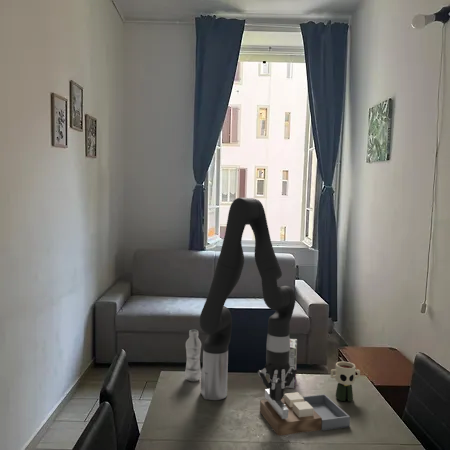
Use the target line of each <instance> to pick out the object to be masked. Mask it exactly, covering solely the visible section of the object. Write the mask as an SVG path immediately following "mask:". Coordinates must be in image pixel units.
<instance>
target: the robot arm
mask: <svg viewBox="0 0 450 450" xmlns="http://www.w3.org/2000/svg"><path fill="white" fill-rule="evenodd" d="M266 215H267V214H266V211H265V208H264V206H263V203H262V202H261V201H260V200H259V199H257V198H252V197H237V198H235V199H234V200H233V201H232V202H231V204H230V206H229V210H228V215H227V220H226V221H227V222H226V227H225V232H224V237H223V241H222V246H221V250H220V253H219V256H218V258H217V263H216V266H215V269H214V273H213V277H212V281H211V285H210V288H209V292H208V294H207V297H206V300H205V302H204V305H203V307H202V310H201V312H200V316H199V325H200V326H199V328H200V329H201V331H202V332H203V333H204V334H206V335H208V336H207V337H206V339H205V340H204V342H203V345H202V346H203V347H202V367H200V369H201V377H200V394H201V395H202V398H203V400H210V401H220V400H224V399H225V398H227V396H228V371H229V370H228V366H229V365H228V364H229V345H230V344H231V340H232V339H231V338H232V337H231V336H232V329H233V328H232V327H233V319H232V313H231V311H230V310H229V308H228V307H227V306H225V303H226V301H227V299H228V297H229V296H230V295H231V293H232V292H233V290H235V289H234V288H236V286H237V285H238V283H239V280H240V279H241V275H242V273H243V269H244V264H245V255H244V250H243V245H242V239H243V235H244V230H245V228H246V225H247V226H248V225H249V226H250V228H251V230H252V233H253V236H254V261H255V263H256V268H257V270H258V273H259V275H260V278H261V289H262V298H263V301H264V304H265V305H266V306H267V308H269V309H270V310H272V311H275V312H274V313H273V314H272V315H270V316H269V318H268V322H267V323H268V324H267V336H266V351H265V353H266V354H265V362H266V363H265V365H264V368H262V369H261V370H260V369H259V370H257V374H258V376H259V378H260V379H261V382H262V384H263V385H264V386H265V387H266V389H269V396H270V398H271V399H272V400H275V383H276V380H277V379H278V380H279V381H280V382H281V383H282V385H281V399H282V398H284V394H285V388H284V387H286V386H289V385H290V383H291V382H292V380H293V378H294V376H295V374H296V375H297V368H296V369H294V368H293V367H290V365H289V354H290V339H291V338H290V333H291V332H290V329H291V328H290V326H291V321H292V317H293V312H294V309H295V307H296V294H295V291H294V289H293V288H292V287H291V286H289V285H282V286H280V285H279V286H278V280H279V279H280V278H282V275H283V273H282V269H281V266H280V263H279V262H278V259H277V256H276V254H275V250H274V247H273V244H272V241H271V235H270V231H269V226H268V221H267V216H266ZM287 372H288V374H287V376H286V377H285V375H286V373H287ZM267 374H268V379H267V377H266V376H267Z"/></svg>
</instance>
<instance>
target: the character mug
mask: <svg viewBox="0 0 450 450" xmlns="http://www.w3.org/2000/svg"><path fill="white" fill-rule="evenodd" d="M356 368H357V367H356V364H355V363H353V362H348V361H338V362H335V368H334V369H333V368H332V369H331V370H330V378H332V379H335V381H336V382H337V384H336V385H337V386H336V390H335V398H336V399H337V400H338V401H340V402H346V400H347V402H353V400H354V394H353V393H354V392H353V384H354V383H355V381H356V379H360V377H361V369H356ZM356 373H357V375H356ZM334 374H335V375H334Z"/></svg>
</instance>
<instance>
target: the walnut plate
mask: <svg viewBox="0 0 450 450" xmlns="http://www.w3.org/2000/svg"><path fill="white" fill-rule="evenodd" d="M281 401H282V402H283V404H284V405H285V406H286V407H287V408H288V418H287V419H282V418H281V417H280V416H279V415H278V413H277V412H276V411H275V410H274V408H273V407H272V406H271V405H270V403H269V402H268V401H267V400H266V399H263V400H260V401H259V402H260V404H259V412H260V414H261V415H262V416H263V418H264V419H265V420H266V421H267V424H268V425H269V426H270V427H271V428H272V430H273V431H274V432H275V434H276V436H285V435H286V436H288V435H294V434H301V433H308V432H316V431H322V430H321V425H322V418H321V417H320V416H319V415H318V414H317V413H316V412H315V411H314V410H313V416H306V417H298V416H297V414H296V413H295V412H294V411H293V407H289V406H288V405H287V403H286V402H285V401H284V397H282V399H281Z"/></svg>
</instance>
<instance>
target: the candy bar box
mask: <svg viewBox="0 0 450 450" xmlns="http://www.w3.org/2000/svg"><path fill="white" fill-rule="evenodd" d="M297 352H298V339H297V338H290V354H289V365H290V367H293V368H294V369H296V370H297V360H298V359H297V357H298V356H297V355H298V353H297ZM287 374H288V372H287V373H286V375H285V377H286V376H287ZM296 381H297V373H296V374H295V376H294V378H293V380H292V382H291V383H290V385H289V386H286V387H284V389H293V390H294V389H295V388H296Z"/></svg>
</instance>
